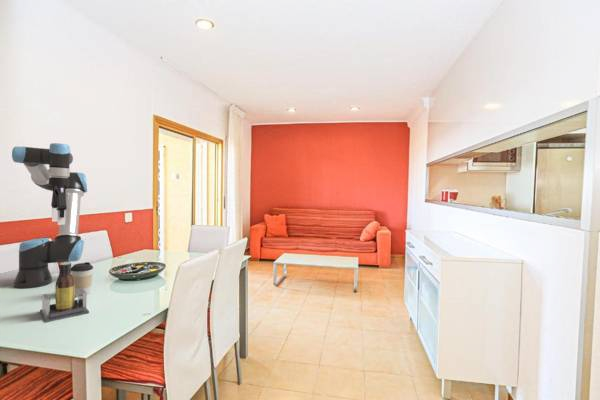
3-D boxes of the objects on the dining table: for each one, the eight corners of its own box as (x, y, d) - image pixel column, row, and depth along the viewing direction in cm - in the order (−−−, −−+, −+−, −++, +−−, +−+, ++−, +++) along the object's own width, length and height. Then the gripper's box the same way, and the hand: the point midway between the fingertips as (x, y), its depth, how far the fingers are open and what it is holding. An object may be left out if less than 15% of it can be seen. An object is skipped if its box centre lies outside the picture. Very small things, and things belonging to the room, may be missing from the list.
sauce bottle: (62, 307, 132) (63, 260, 132) (77, 307, 133) (78, 261, 132) (51, 313, 126) (52, 264, 125) (67, 313, 126) (68, 265, 126)
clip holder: (40, 311, 129) (40, 292, 129) (80, 303, 139) (80, 286, 139) (45, 322, 120) (46, 302, 119) (88, 313, 130) (89, 294, 130)
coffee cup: (80, 298, 145) (81, 266, 145) (64, 296, 147) (65, 265, 146) (97, 292, 154) (97, 262, 153) (81, 290, 156) (82, 261, 155)
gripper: (44, 176, 150) (43, 220, 151) (54, 176, 133) (53, 226, 134) (63, 177, 155) (62, 220, 156) (75, 177, 138) (74, 225, 139)
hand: (58, 223), depth 145 cm, fingers open, 13 cm apart
